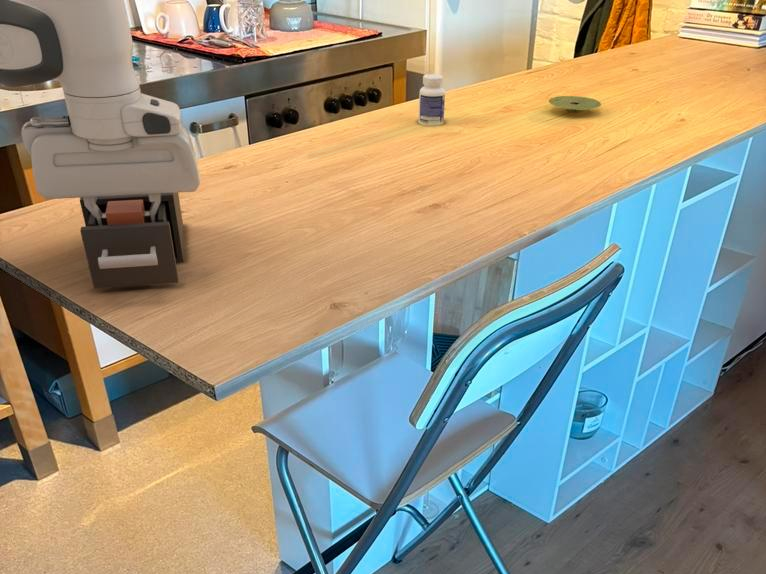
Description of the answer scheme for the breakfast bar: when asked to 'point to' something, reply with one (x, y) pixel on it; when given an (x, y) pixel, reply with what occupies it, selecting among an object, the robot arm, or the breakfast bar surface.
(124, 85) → the robot arm
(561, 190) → the breakfast bar surface
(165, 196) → the cabinet
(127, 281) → the drawer
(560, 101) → the grey green disc
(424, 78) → the pill bottle
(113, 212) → the block
